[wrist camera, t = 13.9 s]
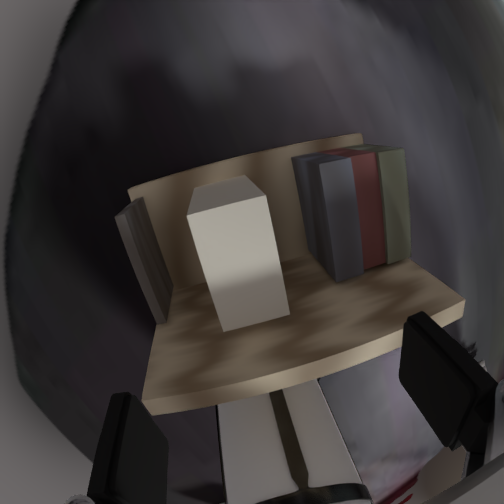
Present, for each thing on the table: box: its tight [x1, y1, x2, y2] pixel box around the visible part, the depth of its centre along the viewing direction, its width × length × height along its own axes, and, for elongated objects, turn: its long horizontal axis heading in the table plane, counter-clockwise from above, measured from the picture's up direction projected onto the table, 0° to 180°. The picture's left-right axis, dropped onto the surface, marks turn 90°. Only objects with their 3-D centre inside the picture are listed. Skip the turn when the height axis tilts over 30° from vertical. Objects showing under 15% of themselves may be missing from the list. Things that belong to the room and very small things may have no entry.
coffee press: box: [215, 377, 374, 504], centre depth 23 cm, size 17×16×30 cm
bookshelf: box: [115, 133, 465, 415], centre depth 22 cm, size 22×12×16 cm, turn 103°
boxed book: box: [187, 175, 290, 332], centre depth 23 cm, size 4×8×10 cm, turn 13°
